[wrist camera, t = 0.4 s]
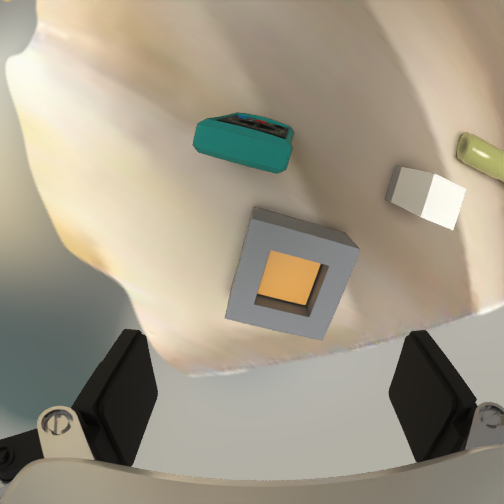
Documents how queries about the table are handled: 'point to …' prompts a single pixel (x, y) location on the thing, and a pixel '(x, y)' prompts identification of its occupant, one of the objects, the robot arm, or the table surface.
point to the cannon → (481, 155)
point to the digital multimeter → (246, 141)
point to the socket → (299, 245)
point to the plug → (426, 195)
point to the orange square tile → (288, 277)
